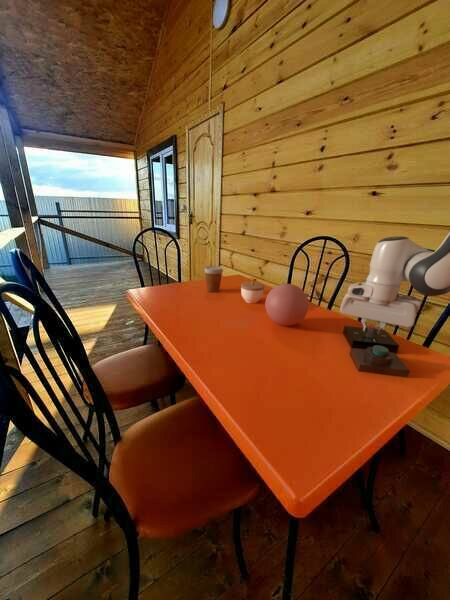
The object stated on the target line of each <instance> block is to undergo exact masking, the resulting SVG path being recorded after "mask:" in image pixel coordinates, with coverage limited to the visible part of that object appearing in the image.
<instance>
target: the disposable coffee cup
mask: <svg viewBox="0 0 450 600" xmlns="http://www.w3.org/2000/svg"><path fill="white" fill-rule="evenodd" d="M203 271H204V275H205V283H206V284H205V285H206V291H207V292H209V293H218V292H220V288H221V281H222V275H223V272H224V269H223V268H222V267H221V266H216V265H210V266H205V267H204V270H203Z"/></svg>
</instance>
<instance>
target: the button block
mask: <svg viewBox="0 0 450 600" xmlns="http://www.w3.org/2000/svg"><path fill="white" fill-rule="evenodd" d="M372 350H373V347H368V348H367V349H366V350H365V349H357V348H351V347H350V349H349V356H350V358H351V360H352V362H353V364H354V366H355V368H356V369H357V372H361V373H368V374H375V375H376V374H377V375H384V376H389V377H390V376H391V377H399V378H406V379H407V378H409V375H410V372H411V370H410V369H409V368H408V367H407V365H406V364H405V363H404V362H403V361H402V360H401V358H400V357H399V356H398V355H397V354H395V353H392V352H389V351H388V354H387V357H381V356H377V355H375V354H373V353H372Z"/></svg>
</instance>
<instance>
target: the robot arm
mask: <svg viewBox="0 0 450 600" xmlns="http://www.w3.org/2000/svg"><path fill="white" fill-rule="evenodd" d="M402 282H408V283H410V285H411V286H412V288H413V289H414V290H415V291H416V292H417V293H419V294H421V295H423V296H428V297H438V296H442V295H445V294H449V293H450V231H449V232H448V233H447V235H446V236H445V238H444V239H443V240H442V242H441V243H440V245H439V247H437V249H436V250H435V251H432V250H430V249H427V248H426V247H423V246H421V245H419V244H417V243H415V242H414V241H413V240H411V239H410V238H409V237H407V236H388V237H383V238H381V239H380V240H379V241H377V243H376V244H375V246H374V249H373V252H372V255H371V259H370V263H369V273H368V275H367V277H366V281H361V282H355V283H351V284H350V285H349V286H348V289H347V292H346V293H345V295H344V296H343V299H342V301H341V303H340V308H339V312H340V314H342V315H346V316H351V317H355V318H360V319H361V320H360V322H361V324H362V328H363V331H366V332H367V331H368V327H369V324H367V323H366V322H367V320H370V321H371V320H372V321H376V322H379V325H378V326H375V328H374V334H378V335H379V331H380V330H383V329H384V328H385V327H386V324H389V325H393V326H399V327H404V328H408V329H410V328H412V327H413V326H414V325H415V322H416V314H417V312H418V311H419V310H420V308H421V305H422V302H421V300H420V299H419V298H417V296H414V295H407V294H402V293H399V291H400V287H401V283H402Z"/></svg>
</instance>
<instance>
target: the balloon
mask: <svg viewBox="0 0 450 600" xmlns="http://www.w3.org/2000/svg"><path fill="white" fill-rule="evenodd" d="M309 294H310V293H306V292H305V291H304V290H303V289H302V288H300V286H297V285H295V284H292V283H282V284H279V285H276V286H274V287H273V288H272V289H271V290H270V291H269V292H268V294H267V295H266V298H265V302H264V308H265V311H266V312H265V313H266V314H267V316H268V317H269V319H270V320H271V321H272V322H274V323H275V324H277V325H280V326H284V327H290V326H294V325H298V324H299V323H301V321H303V320H304V319H305V317H306V316H307V314H308V311H309V299H308V297H309V296H310V295H309Z"/></svg>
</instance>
